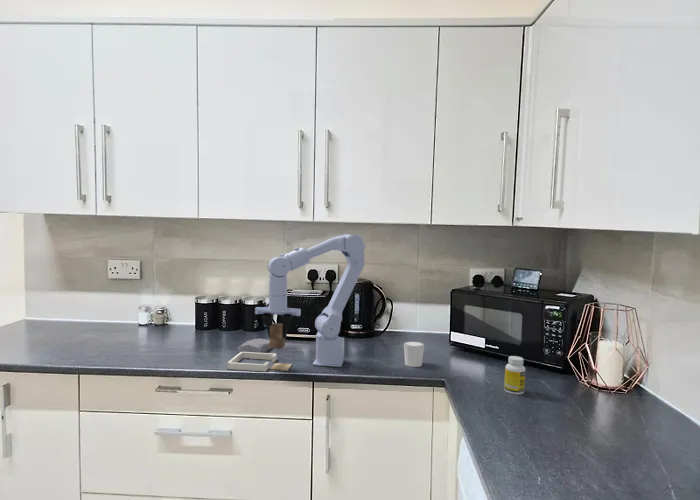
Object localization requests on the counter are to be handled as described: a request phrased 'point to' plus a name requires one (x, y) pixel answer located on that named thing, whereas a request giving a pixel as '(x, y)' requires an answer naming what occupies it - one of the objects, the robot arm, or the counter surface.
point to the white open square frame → (247, 366)
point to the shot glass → (413, 353)
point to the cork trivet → (281, 366)
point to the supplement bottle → (514, 376)
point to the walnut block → (276, 336)
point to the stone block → (255, 346)
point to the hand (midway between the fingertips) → (277, 336)
